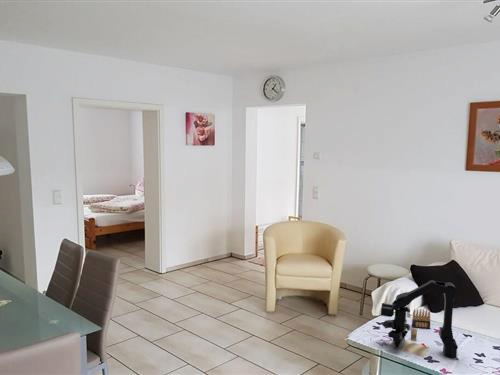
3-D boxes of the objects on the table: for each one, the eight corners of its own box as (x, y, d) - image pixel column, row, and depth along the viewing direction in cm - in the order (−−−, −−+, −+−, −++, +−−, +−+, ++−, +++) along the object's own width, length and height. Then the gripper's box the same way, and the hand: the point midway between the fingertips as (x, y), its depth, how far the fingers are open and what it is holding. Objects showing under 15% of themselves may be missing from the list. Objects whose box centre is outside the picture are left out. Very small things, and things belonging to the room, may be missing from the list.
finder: (404, 346, 226) (404, 337, 226) (401, 349, 222) (402, 341, 222) (395, 343, 229) (395, 335, 229) (392, 346, 225) (392, 338, 225)
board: (429, 349, 226) (430, 347, 226) (422, 359, 215) (423, 357, 215) (396, 339, 237) (397, 337, 237) (388, 348, 226) (388, 346, 226)
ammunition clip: (429, 328, 255) (430, 309, 254) (430, 329, 253) (431, 310, 252) (411, 326, 256) (412, 308, 255) (412, 328, 255) (413, 309, 254)
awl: (417, 342, 235) (418, 330, 234) (412, 343, 234) (413, 331, 233) (414, 340, 237) (414, 328, 237) (409, 340, 237) (410, 328, 236)
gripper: (391, 309, 237) (389, 335, 238) (379, 319, 222) (377, 347, 223) (411, 314, 230) (409, 341, 231) (400, 325, 215) (398, 353, 217)
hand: (398, 345), depth 226 cm, fingers closed on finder, 5 cm apart
